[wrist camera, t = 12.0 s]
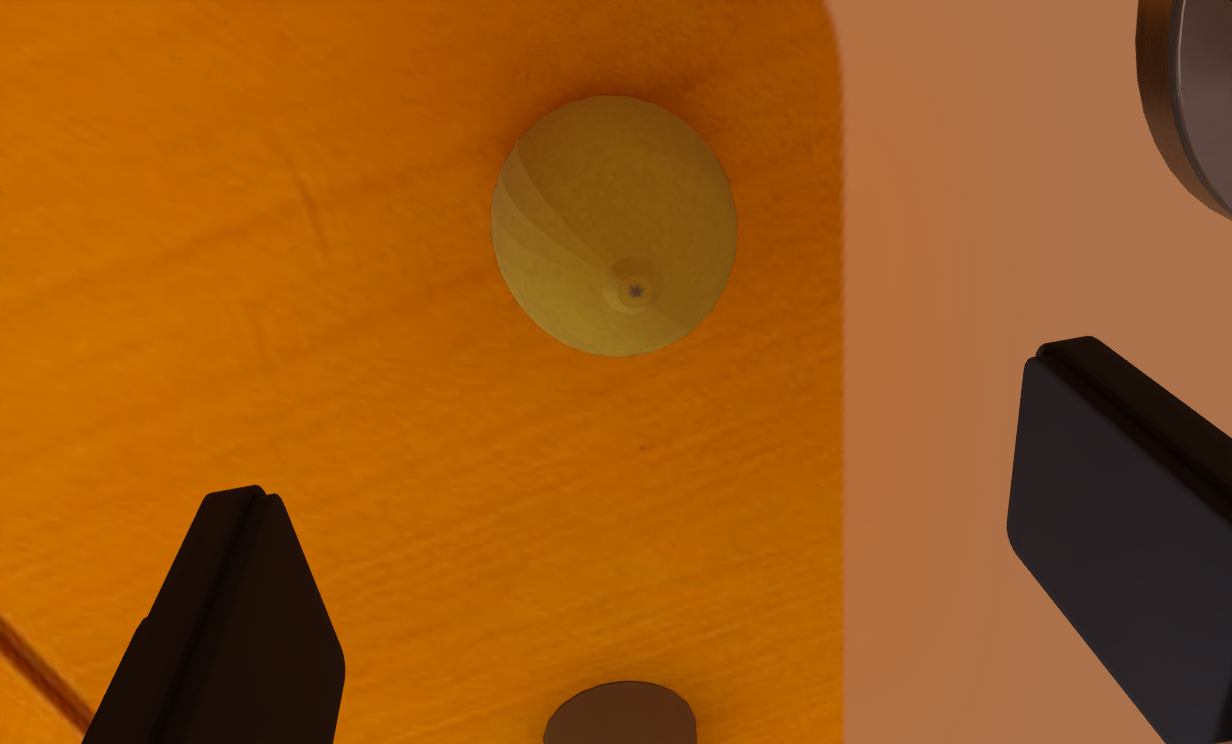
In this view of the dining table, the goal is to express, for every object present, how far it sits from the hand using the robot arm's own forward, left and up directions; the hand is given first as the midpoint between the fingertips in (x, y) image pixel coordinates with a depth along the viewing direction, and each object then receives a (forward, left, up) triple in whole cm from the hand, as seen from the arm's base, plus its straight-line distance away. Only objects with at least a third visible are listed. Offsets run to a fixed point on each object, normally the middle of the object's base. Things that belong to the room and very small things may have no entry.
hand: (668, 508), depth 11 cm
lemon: (0, 0, -15) cm, 15 cm away
